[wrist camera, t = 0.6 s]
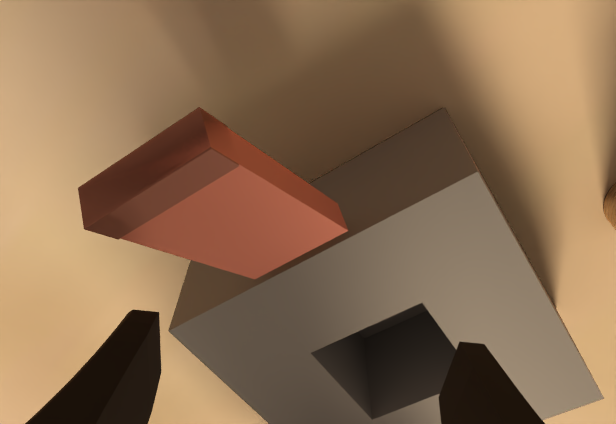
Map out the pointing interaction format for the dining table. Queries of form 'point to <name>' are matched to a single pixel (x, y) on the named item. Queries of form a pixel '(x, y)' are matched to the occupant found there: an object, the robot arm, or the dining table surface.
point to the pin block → (387, 299)
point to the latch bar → (210, 200)
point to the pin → (611, 206)
